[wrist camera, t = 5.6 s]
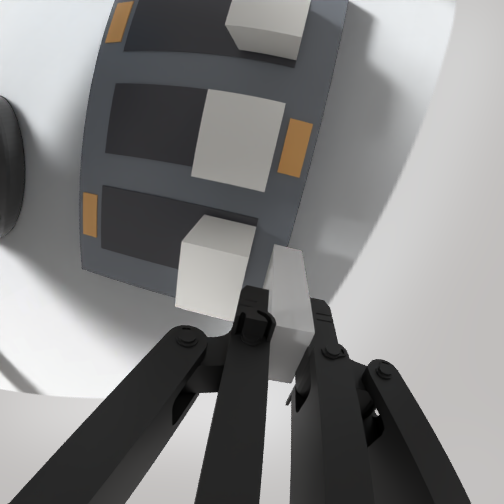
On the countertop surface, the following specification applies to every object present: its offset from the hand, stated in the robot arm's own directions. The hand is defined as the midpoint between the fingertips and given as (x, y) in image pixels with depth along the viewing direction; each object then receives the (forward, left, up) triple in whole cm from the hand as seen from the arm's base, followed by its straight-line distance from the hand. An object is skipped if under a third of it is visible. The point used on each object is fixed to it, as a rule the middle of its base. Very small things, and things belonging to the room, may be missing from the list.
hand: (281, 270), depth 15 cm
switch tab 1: (-3, +13, -1) cm, 13 cm away
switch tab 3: (-3, 0, -1) cm, 4 cm away
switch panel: (-7, +6, -4) cm, 10 cm away
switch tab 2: (-3, +6, -1) cm, 7 cm away
